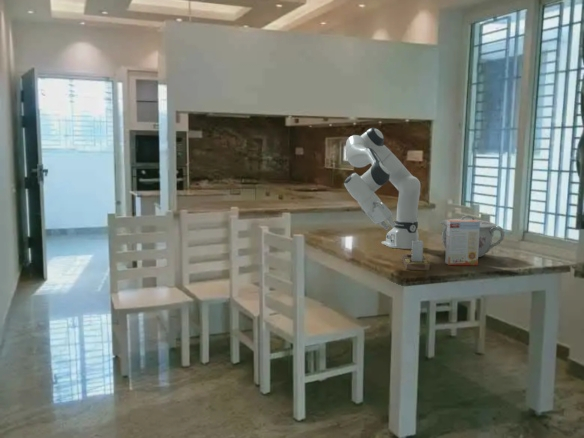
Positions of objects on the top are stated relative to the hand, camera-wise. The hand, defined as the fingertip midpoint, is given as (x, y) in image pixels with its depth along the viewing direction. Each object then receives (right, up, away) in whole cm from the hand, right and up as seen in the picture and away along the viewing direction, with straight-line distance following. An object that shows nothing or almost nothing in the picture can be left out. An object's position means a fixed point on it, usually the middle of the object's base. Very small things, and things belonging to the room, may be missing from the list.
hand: (391, 227), depth 261 cm
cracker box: (+35, -18, +11) cm, 40 cm away
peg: (+12, -18, +3) cm, 22 cm away
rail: (+13, -17, +8) cm, 23 cm away
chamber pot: (+43, -15, +32) cm, 56 cm away
